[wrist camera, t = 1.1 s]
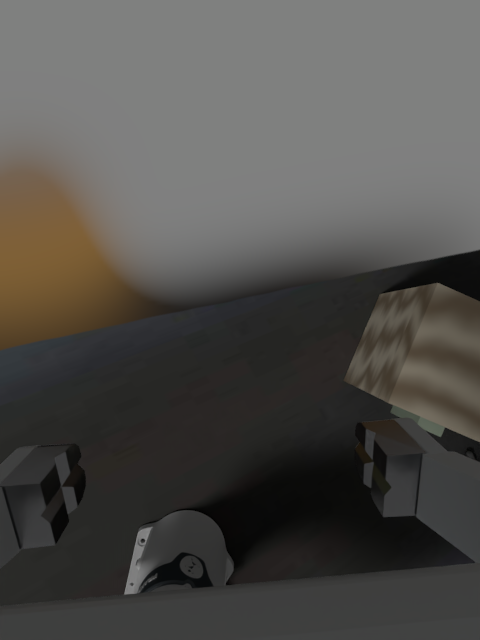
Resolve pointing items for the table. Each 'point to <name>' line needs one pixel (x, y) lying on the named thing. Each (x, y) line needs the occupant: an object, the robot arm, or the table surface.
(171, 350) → the table surface
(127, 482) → the table surface
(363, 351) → the wood grain stool
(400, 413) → the sage wooden block
